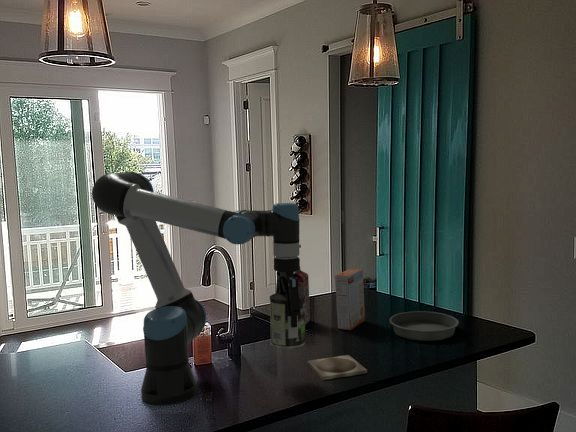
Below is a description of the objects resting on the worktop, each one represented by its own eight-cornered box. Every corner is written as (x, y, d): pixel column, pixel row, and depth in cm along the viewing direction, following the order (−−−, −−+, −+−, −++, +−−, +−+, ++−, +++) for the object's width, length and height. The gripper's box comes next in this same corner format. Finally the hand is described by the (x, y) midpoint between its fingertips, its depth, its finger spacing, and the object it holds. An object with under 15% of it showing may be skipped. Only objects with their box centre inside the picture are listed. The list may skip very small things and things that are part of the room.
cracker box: (351, 319, 219) (349, 267, 217) (365, 321, 216) (364, 268, 214) (336, 329, 207) (334, 274, 205) (350, 331, 204) (349, 275, 202)
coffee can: (308, 338, 164) (307, 292, 163) (302, 350, 154) (301, 301, 153) (274, 336, 166) (273, 291, 165) (266, 348, 156) (265, 299, 155)
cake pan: (389, 342, 190) (389, 329, 190) (389, 322, 214) (389, 310, 214) (463, 343, 186) (463, 330, 186) (454, 322, 210) (454, 311, 210)
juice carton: (289, 324, 216) (286, 269, 214) (294, 319, 222) (292, 265, 220) (305, 324, 214) (303, 269, 212) (310, 320, 220) (308, 266, 218)
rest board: (322, 380, 158) (322, 376, 158) (307, 363, 172) (307, 360, 172) (367, 373, 162) (367, 369, 162) (348, 357, 176) (348, 354, 176)
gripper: (311, 262, 148) (312, 342, 150) (287, 250, 169) (288, 320, 172) (285, 264, 146) (286, 345, 148) (264, 251, 167) (265, 322, 169)
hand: (287, 332), depth 160 cm, fingers closed on coffee can, 10 cm apart
